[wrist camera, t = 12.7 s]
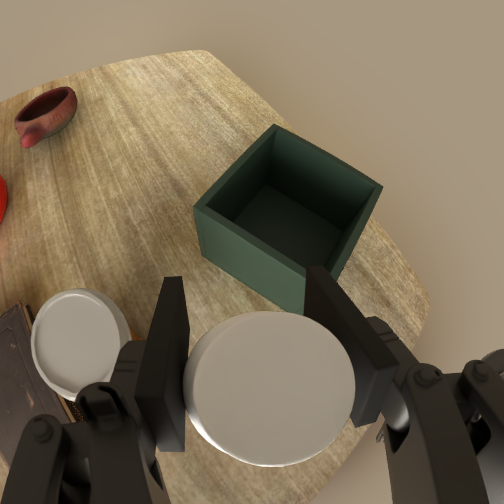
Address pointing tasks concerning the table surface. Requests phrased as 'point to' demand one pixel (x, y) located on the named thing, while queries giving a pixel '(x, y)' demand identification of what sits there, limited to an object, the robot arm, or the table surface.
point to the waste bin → (284, 216)
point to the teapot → (2, 197)
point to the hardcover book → (23, 383)
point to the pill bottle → (269, 387)
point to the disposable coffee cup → (78, 340)
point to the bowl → (45, 115)
